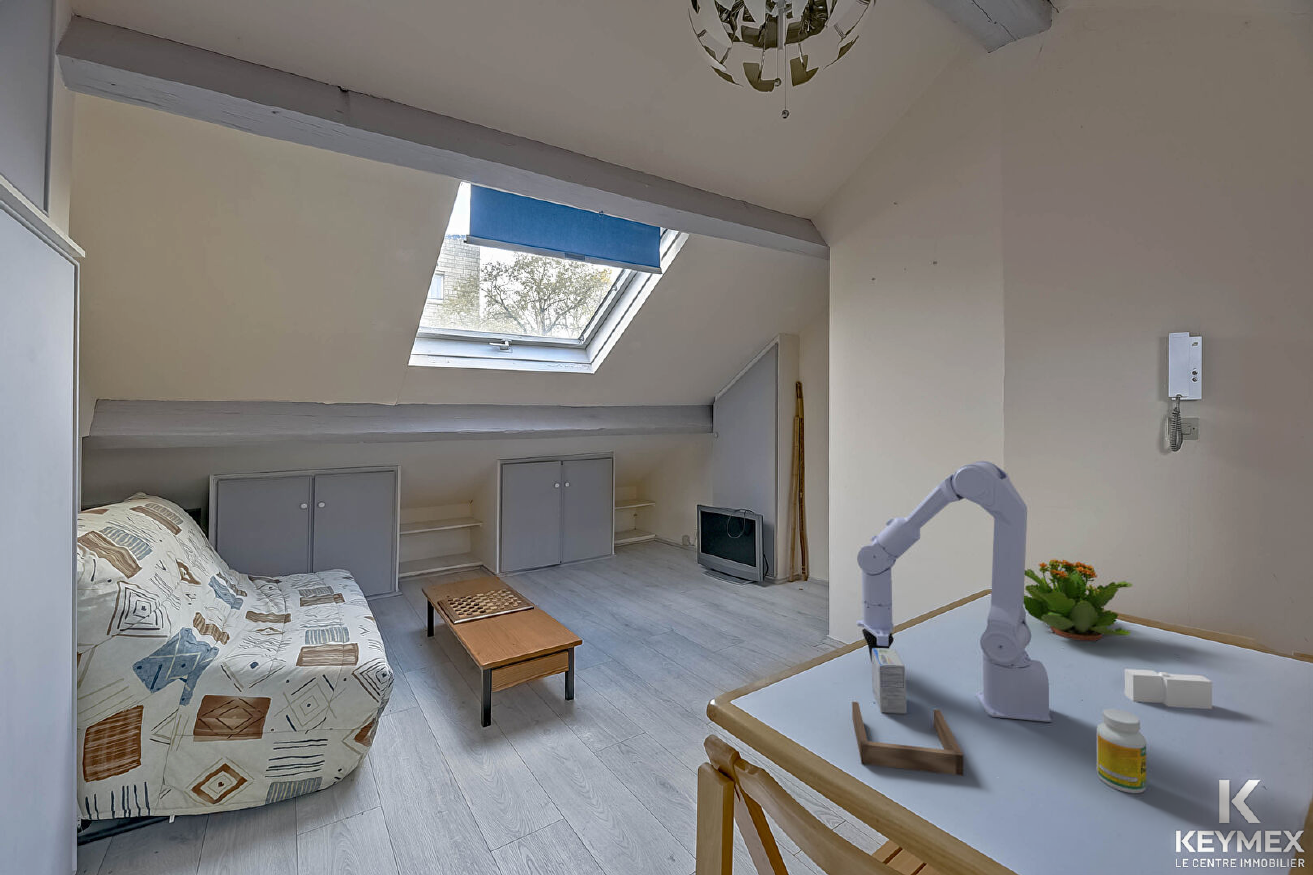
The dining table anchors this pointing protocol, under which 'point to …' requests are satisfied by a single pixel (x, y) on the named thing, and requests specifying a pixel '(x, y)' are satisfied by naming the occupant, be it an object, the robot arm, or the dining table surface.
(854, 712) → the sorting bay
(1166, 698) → the white notched double block
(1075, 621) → the potted flower
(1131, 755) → the supplement bottle
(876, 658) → the medicine box
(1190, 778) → the dining table surface
